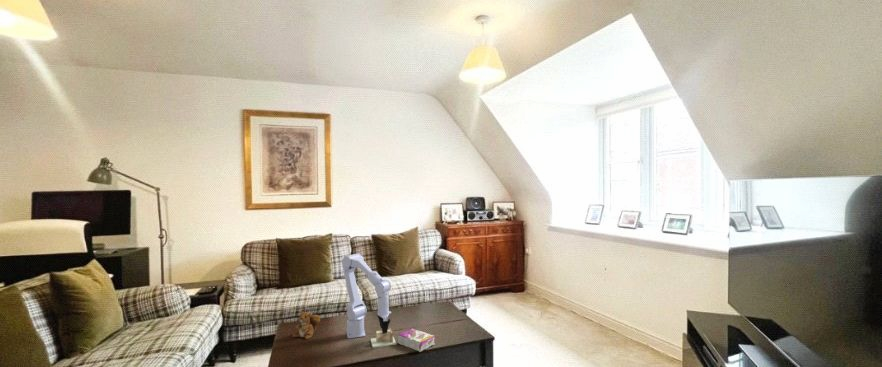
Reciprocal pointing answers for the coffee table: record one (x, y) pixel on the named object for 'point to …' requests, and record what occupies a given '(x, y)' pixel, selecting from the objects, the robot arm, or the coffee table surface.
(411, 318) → the coffee table surface
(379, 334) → the wooden t-shaped block
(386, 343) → the board
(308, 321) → the stuffed squirrel
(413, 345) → the candy bar box
